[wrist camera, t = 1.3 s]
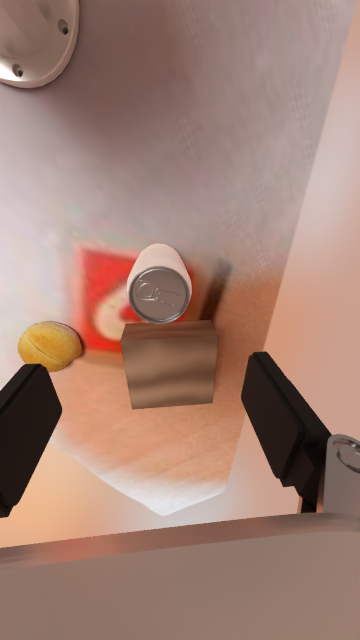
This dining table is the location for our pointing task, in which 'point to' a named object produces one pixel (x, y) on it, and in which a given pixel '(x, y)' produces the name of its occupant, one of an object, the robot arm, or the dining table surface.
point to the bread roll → (49, 345)
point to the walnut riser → (170, 363)
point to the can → (159, 285)
